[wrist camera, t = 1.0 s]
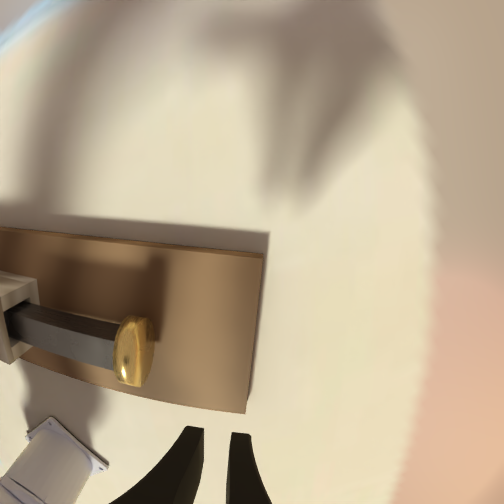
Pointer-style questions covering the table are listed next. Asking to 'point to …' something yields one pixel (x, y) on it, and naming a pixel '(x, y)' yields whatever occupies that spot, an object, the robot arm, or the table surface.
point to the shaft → (87, 339)
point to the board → (142, 309)
